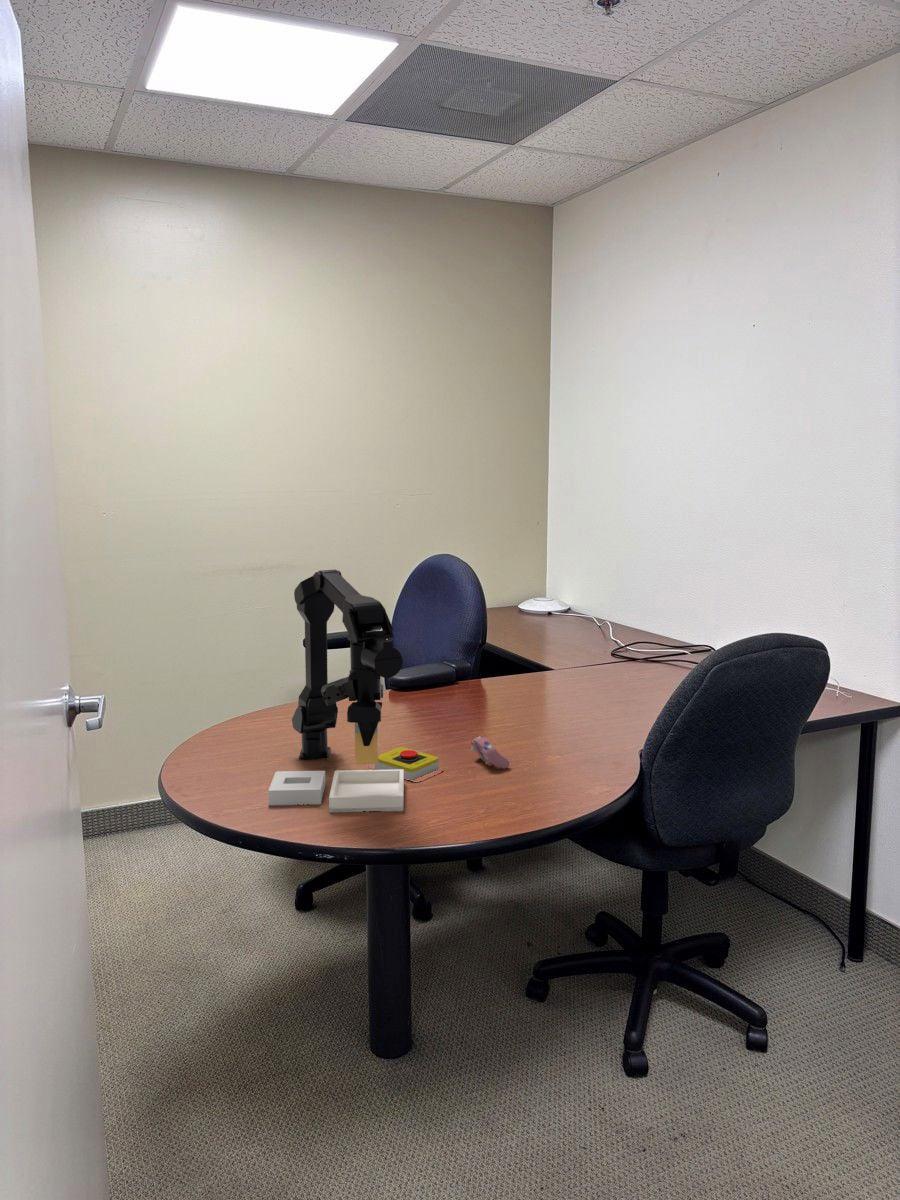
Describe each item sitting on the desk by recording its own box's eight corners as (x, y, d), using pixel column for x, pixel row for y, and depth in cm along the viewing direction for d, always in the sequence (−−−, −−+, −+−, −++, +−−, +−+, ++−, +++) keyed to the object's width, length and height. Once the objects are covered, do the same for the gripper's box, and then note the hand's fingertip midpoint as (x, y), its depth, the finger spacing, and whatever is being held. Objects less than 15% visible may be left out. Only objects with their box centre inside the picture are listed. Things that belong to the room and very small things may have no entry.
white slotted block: (276, 785, 180) (275, 771, 179) (325, 784, 180) (325, 770, 180) (268, 805, 170) (268, 790, 169) (320, 804, 170) (320, 789, 170)
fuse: (356, 760, 174) (355, 721, 172) (378, 759, 174) (377, 720, 172) (355, 764, 171) (354, 725, 170) (378, 764, 172) (377, 724, 170)
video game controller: (477, 763, 197) (464, 738, 195) (493, 752, 198) (481, 727, 196) (495, 778, 188) (481, 752, 186) (512, 766, 189) (499, 740, 187)
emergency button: (417, 765, 180) (364, 750, 189) (417, 786, 181) (365, 769, 190) (446, 753, 187) (394, 738, 197) (446, 773, 188) (394, 757, 197)
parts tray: (335, 784, 180) (335, 770, 180) (403, 783, 181) (403, 769, 180) (329, 812, 167) (329, 797, 166) (403, 811, 167) (403, 796, 167)
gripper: (327, 654, 178) (329, 728, 181) (318, 679, 160) (320, 761, 162) (382, 654, 178) (383, 728, 181) (380, 678, 160) (381, 760, 163)
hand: (366, 743), depth 172 cm, fingers closed on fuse, 2 cm apart
